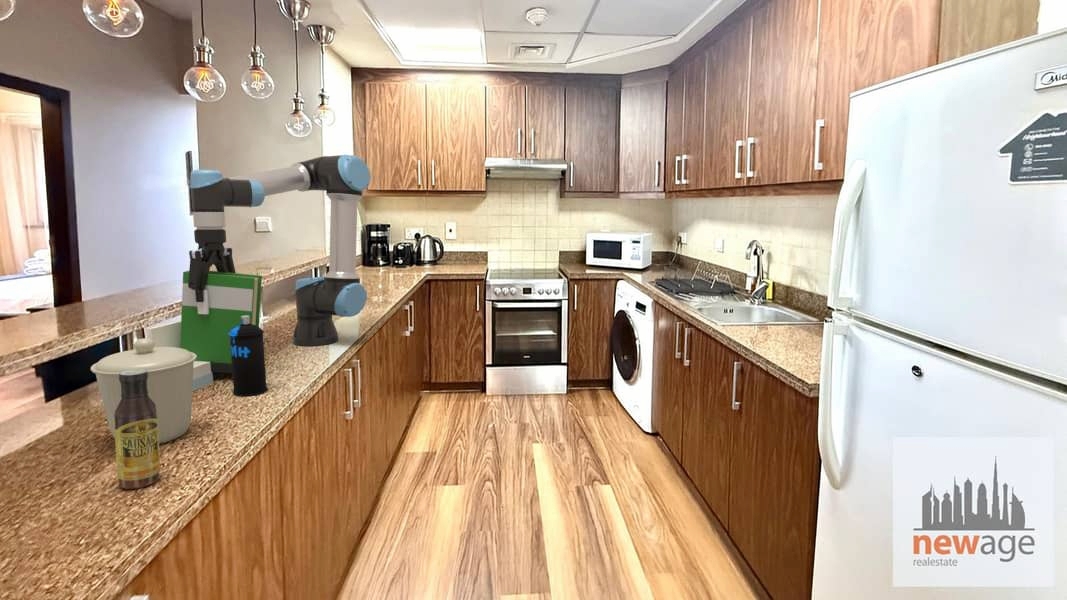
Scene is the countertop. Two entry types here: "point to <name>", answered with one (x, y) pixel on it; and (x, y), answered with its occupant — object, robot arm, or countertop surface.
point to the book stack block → (201, 374)
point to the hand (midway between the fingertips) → (215, 311)
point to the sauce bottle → (136, 432)
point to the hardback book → (218, 313)
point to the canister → (152, 384)
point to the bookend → (221, 367)
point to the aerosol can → (248, 359)
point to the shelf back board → (166, 335)
